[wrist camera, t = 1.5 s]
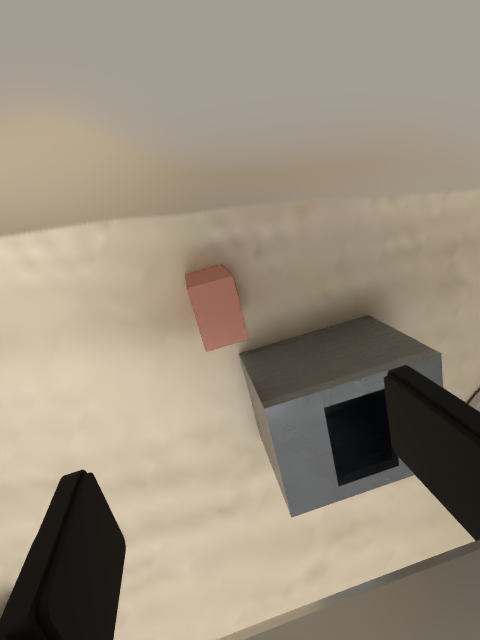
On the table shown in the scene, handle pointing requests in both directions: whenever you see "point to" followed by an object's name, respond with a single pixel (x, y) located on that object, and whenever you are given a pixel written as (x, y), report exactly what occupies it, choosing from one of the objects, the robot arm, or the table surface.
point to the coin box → (332, 408)
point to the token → (216, 307)
